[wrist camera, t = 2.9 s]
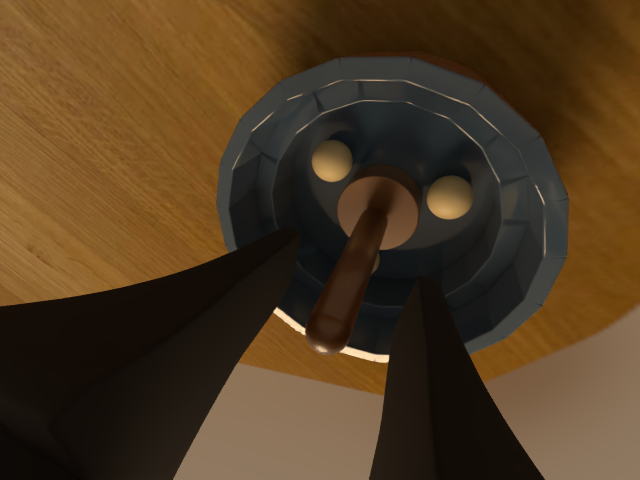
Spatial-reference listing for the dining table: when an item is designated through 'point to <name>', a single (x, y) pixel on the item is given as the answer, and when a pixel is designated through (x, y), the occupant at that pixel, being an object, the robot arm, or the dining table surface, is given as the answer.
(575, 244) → the dining table surface
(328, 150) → the chickpea
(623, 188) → the dining table surface
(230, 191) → the bowl
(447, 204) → the chickpea
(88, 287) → the dining table surface
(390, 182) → the wooden pestle
